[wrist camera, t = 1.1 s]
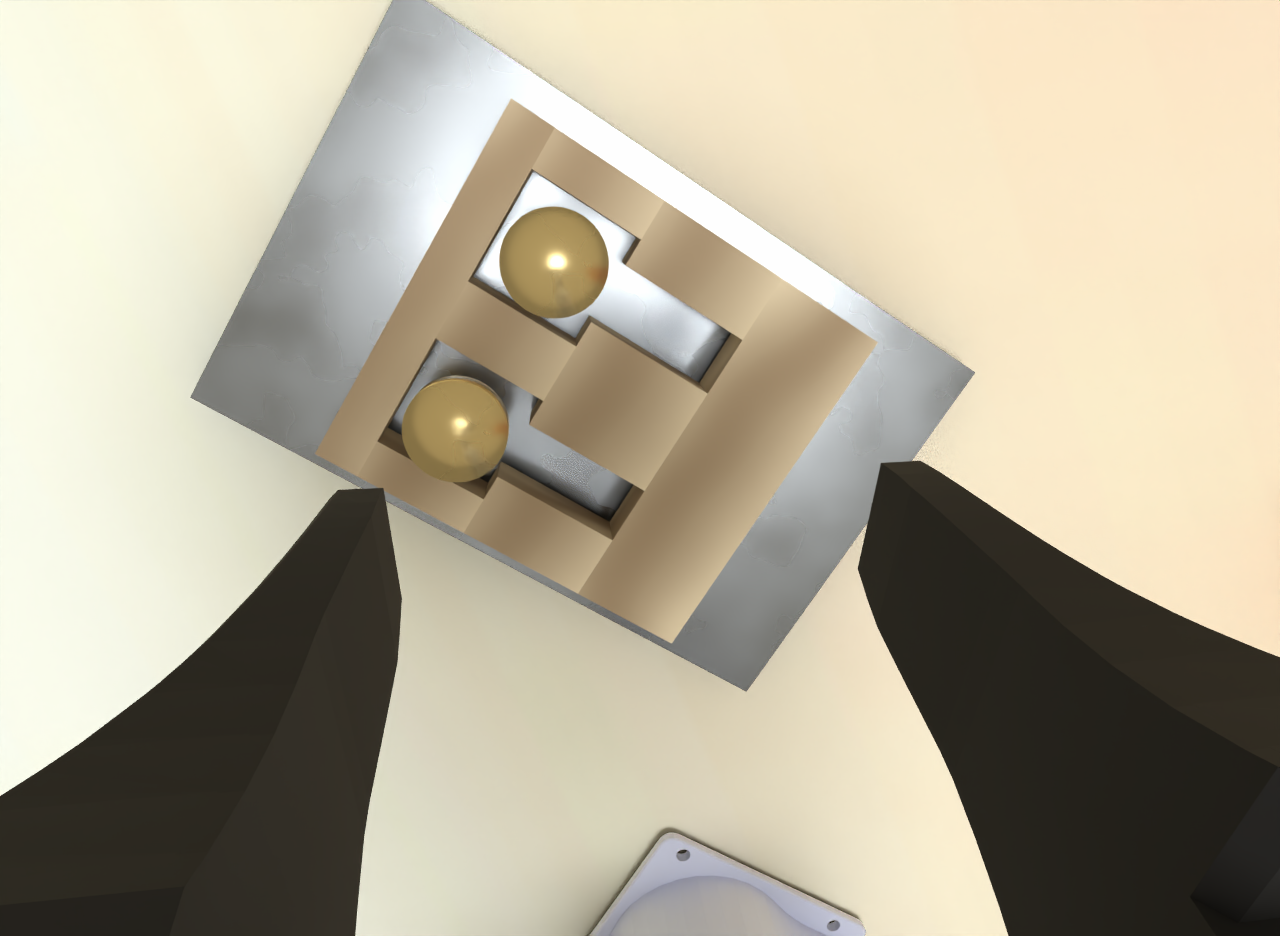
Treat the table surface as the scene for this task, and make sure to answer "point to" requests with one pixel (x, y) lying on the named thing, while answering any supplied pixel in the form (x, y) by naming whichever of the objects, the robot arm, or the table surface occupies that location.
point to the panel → (607, 390)
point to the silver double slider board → (560, 294)
